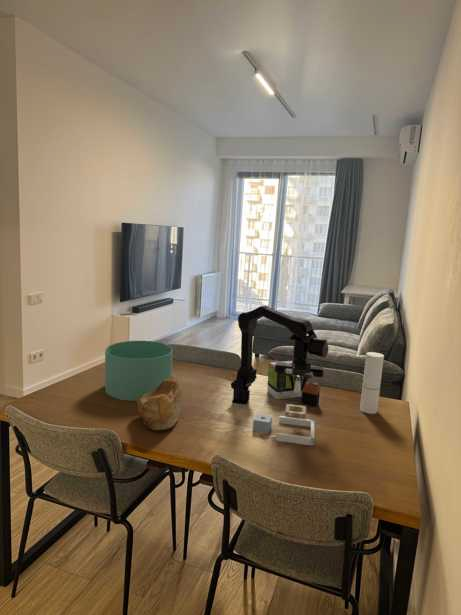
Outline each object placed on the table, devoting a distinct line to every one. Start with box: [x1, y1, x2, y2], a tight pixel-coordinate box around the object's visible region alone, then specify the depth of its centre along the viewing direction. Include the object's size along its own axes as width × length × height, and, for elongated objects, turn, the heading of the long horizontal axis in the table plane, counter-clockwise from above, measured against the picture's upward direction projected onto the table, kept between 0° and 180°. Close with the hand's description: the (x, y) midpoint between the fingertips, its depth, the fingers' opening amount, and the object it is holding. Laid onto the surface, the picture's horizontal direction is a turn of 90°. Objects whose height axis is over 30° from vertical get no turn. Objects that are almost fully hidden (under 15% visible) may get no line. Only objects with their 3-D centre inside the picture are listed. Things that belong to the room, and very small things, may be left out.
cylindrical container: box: [359, 351, 385, 415], centre depth 181 cm, size 7×7×25 cm
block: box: [252, 413, 273, 434], centre depth 159 cm, size 6×6×4 cm
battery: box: [300, 380, 321, 408], centre depth 185 cm, size 4×7×10 cm, turn 61°
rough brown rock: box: [136, 375, 183, 431], centre depth 161 cm, size 23×17×15 cm
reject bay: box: [276, 415, 316, 447], centre depth 158 cm, size 13×16×2 cm
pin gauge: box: [293, 376, 302, 396], centre depth 168 cm, size 3×3×8 cm
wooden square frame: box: [284, 403, 307, 419], centre depth 170 cm, size 8×8×4 cm
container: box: [104, 340, 174, 402], centre depth 191 cm, size 30×30×19 cm
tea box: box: [266, 360, 303, 400], centre depth 194 cm, size 15×10×15 cm, turn 108°
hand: (297, 390), depth 168 cm, fingers closed on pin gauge, 3 cm apart
